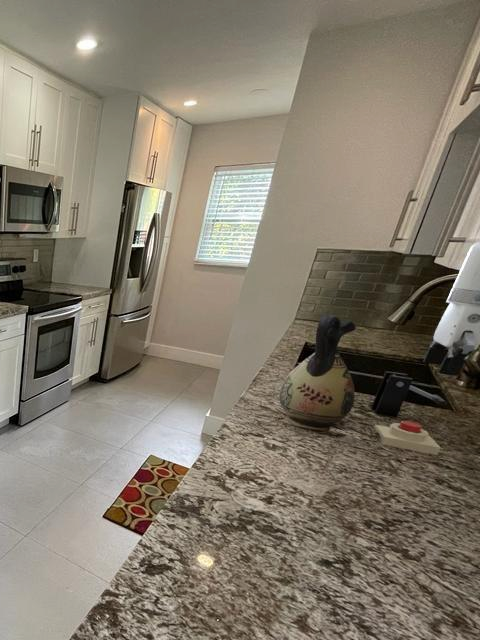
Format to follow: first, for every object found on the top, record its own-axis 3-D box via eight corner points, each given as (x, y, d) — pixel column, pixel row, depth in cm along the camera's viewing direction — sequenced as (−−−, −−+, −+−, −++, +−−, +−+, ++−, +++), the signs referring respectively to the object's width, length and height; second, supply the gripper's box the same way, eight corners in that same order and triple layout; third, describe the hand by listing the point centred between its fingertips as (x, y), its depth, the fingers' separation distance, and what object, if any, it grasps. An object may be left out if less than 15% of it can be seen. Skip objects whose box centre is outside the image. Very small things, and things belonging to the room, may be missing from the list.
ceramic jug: (291, 408, 122) (324, 308, 112) (354, 430, 109) (398, 319, 98) (256, 417, 116) (287, 312, 105) (318, 442, 103) (361, 325, 92)
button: (416, 429, 102) (418, 422, 102) (421, 434, 99) (424, 428, 99) (396, 425, 104) (399, 419, 103) (401, 431, 101) (404, 424, 100)
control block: (424, 441, 104) (430, 427, 102) (437, 455, 97) (444, 440, 96) (372, 431, 109) (377, 418, 107) (381, 444, 102) (387, 430, 101)
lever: (433, 401, 113) (441, 394, 112) (441, 408, 108) (449, 401, 107) (384, 379, 117) (391, 372, 115) (390, 385, 112) (397, 378, 111)
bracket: (403, 415, 119) (422, 374, 114) (416, 428, 111) (436, 384, 106) (350, 406, 124) (365, 366, 120) (358, 418, 116) (375, 376, 112)
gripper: (518, 305, 84) (478, 382, 91) (479, 295, 98) (447, 362, 104) (465, 301, 88) (431, 375, 94) (435, 292, 102) (406, 357, 108)
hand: (439, 368), depth 99 cm, fingers open, 9 cm apart
